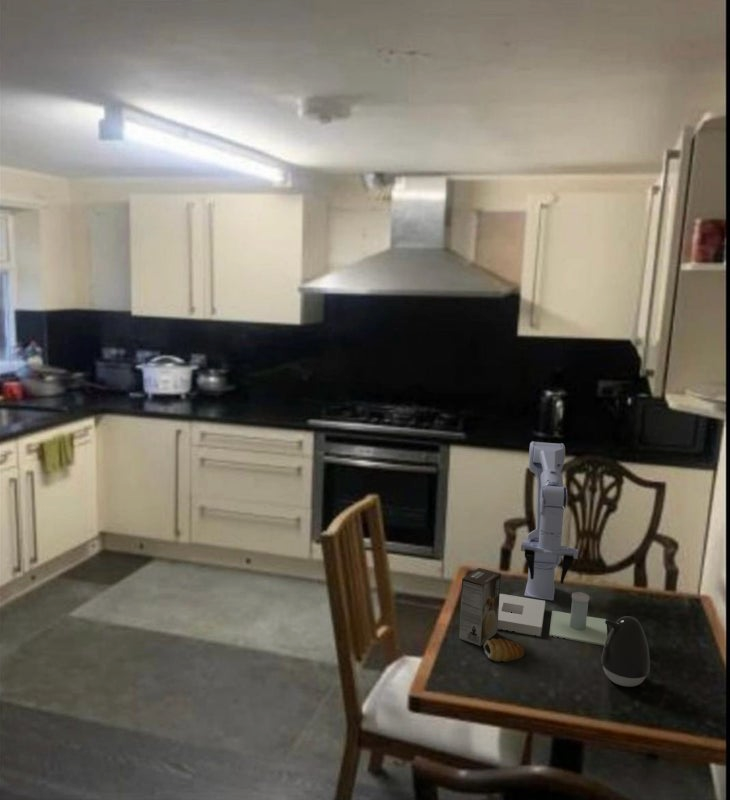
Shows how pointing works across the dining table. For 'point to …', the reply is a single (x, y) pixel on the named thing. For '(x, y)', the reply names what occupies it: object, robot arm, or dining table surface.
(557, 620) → the mat
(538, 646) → the dining table surface
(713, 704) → the dining table surface
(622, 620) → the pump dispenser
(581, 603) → the cartridge
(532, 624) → the housing
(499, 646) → the pastry
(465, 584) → the coffee box
